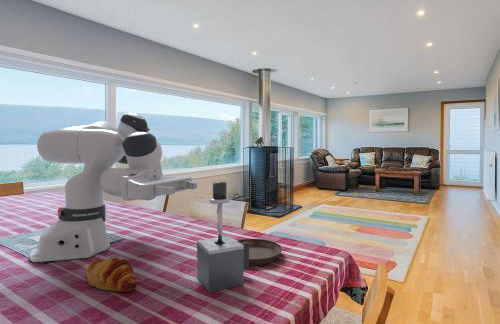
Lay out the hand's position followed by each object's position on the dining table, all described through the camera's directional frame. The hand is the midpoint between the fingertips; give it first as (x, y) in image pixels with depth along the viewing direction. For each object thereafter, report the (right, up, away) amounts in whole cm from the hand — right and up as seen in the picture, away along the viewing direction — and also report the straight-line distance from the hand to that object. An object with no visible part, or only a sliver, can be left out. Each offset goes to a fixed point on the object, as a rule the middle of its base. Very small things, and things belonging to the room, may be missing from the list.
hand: (184, 188), depth 86 cm
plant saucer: (+18, -23, +14) cm, 32 cm away
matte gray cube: (+11, -23, -3) cm, 26 cm away
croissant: (-18, -24, -4) cm, 30 cm away
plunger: (+10, -13, -5) cm, 17 cm away
